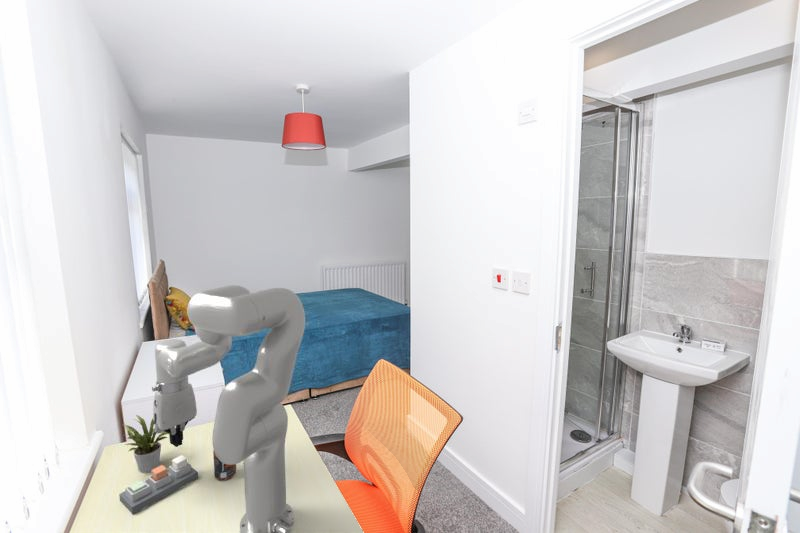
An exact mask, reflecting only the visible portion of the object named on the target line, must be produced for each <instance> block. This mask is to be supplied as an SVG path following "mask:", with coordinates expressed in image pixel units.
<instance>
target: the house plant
mask: <svg viewBox="0 0 800 533" xmlns="http://www.w3.org/2000/svg"><path fill="white" fill-rule="evenodd" d="M135 416H136V417H137V419H134V418H133V420H135V421H136V422H137V423H139V424H140V425H141V428H142V431H143V434H141V433H140V432H138V430H137V429H135V428H134V427H132V426H130V425H127V424H122V426H124V427H125V429H126V431H127V438H126V440H127V439H128V440H129V439H131V440H132V441H134V442H130V443H128V442H127V443H125V444H124V445H127V446H128V445H129V446H134V447H131V448H129V450H128V452H130V451H131V452H132V451H133V456H134V458H135V462H136V465H137V468H138V471H139V473H141V474H146V473H151V470H153V469H155V468H157V467H159V466H160V460H161V451H162V450H161V449H162V443H161V442H159V441H163V440H164V439H168V437H167V436H165V435H169V433H167V432H162V433H159V434H158V436H157V437H156V435H157V433H156V432H155V431H154V430H155V424H154V421H153V418H152V419H151V422H150V427H149V429H148V427H147V423H146V421H145V419H144V418H142V417H141V416H140V415H138V414H136V415H135ZM122 436H125V434H123V435H122Z"/></svg>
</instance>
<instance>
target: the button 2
mask: <svg viewBox="0 0 800 533" xmlns="http://www.w3.org/2000/svg"><path fill="white" fill-rule="evenodd" d="M167 470H168V469H167V467H165V466H164V465H162V464H161V465H159V466H158V467H157V468H155V469H153V470H151V472H150V473H151V475H152V479H153V480H154V481H156V482H157V481H159V480H161V479H162V478H164V477H166V476H167Z"/></svg>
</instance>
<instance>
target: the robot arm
mask: <svg viewBox="0 0 800 533" xmlns="http://www.w3.org/2000/svg"><path fill="white" fill-rule="evenodd" d="M186 312H187V318H188V320H189V322H190V323H191V325H192V326H194V332H195V335H196V336H197V337H198V339H199V340H200V341H197V342H195V343H191V344H189V345H187V343H186V342H185V341H184V340H182V339H178V338H177V339H176V338H174V339H166V340H163V341H160V342H159V343H158V344H156V346H155V348H154V357H155V372H156V381H155V385H153V386H152V387H151V391H152V392H155V393H154V397H153V406H152V407H153V409H152V411H153V412H152V419H153V421H154V428H155V430H154V431H155V432H156V434H161V433H163V432H167V433H169V434H168V435H169V437H168V438H169V444H170V445H172V446H174V447H175V448H178V447H179V446H181V445H183V440H184V431H185V429H186V426H187V425H188V424H189V422H190V421H192V420H193V419H195V418H196V416H197V412H198V410H197V409H198V408H197V402H196V396H195V391H194V388H193V385H192V383H189V376H191V375H193V374H196V373H198V372H201V371H202V370H205V369H208V368H210V367H213V366H216V365H217V364H218V363H220V362H221V361H222V360H223V359H224V358H225V356H226V355H227V354H228V353H229V352H230V350H231V349H232V343H233V341H232V340H233V339H232V337H233V338H241V337H246V336H250V335H252V334H255V333H259V332H261V331H264V330H268V329H269V330H268V332H267V334H266V335H265V336H264V338H263V340H262V342H261V343H260V346H259V348H258V351H257V356H256V361H255V364H254V367H253V368H252V369H251V370H250V371H249V372H247V373H245V374H243V375H241V376H239V377H236V378H235V379H232V380H231V381H229V382H228V383H227V384H226V385H225V386H224V387H222V390H221V392H220V393H219V397H218V400H217V406H216V407H217V408H216V411H215V418H214V423H213V430H212V449H213V450H214V452H215V455H216V456H217V458H218V459H219V460H220V461H221V462H222V463H224V464H228V465H233V464H236V465H237V464H239V463H242V462H243V478H244V481H243V482H244V493H245V494H244V496H245V497H244V498H245V513H244V514H243V516H242V518H241V520H240V523H239V530H240V531H239V532H240V533H291V529H290V528H292V527H294V525H295V521H294V511H293V508H292V506H290V504H288V503H287V490H286V489H287V487H286V486H287V485H286V455H285V454H286V453H285V451H286V450H285V448H286V439H287V432H288V424H289V423H288V421H289V420H288V419H289V418H288V412H287V409H286V408H285V406H284V405H283V404H282V402H283V401H285V399H286V398H287V396H288V394H289V392H290V388H291V383H292V380H293V375H294V369H295V366H296V361H297V357H298V356H297V355H298V352H299V349H300V346H301V342H302V340H303V337H304V333H305V327H306V313H305V309H304V306H303V303H302V301H301V299H300V297H299V296H298V295H297V294H296V293H295V292H294V291H292V290H291V289H288V288H285V287H273V288H267V289H264V290H263V289H261V290H258V291H255V292H251V291H250V290H249V289H247V288H246V287H244V286H241V285H233V284H232V285H226V286H225V285H224V286H221V287H215V288H211V289H206V290H201V291H199V292H197V293H196V294H194V295H193V296H192V297H191V298H190V300H189V302H188V305H187V309H186ZM154 431H153V432H154Z"/></svg>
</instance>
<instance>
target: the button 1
mask: <svg viewBox="0 0 800 533" xmlns="http://www.w3.org/2000/svg"><path fill="white" fill-rule="evenodd" d="M128 487H129V489H130V491H131V492H132V493H135V492H137V491H139V490H141V489H143V488H145V487H146V485H145V484H144V483H143V482H142V481H141V480H139V481H137V482H135V483H133V484H131V485H129V486H128Z"/></svg>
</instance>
